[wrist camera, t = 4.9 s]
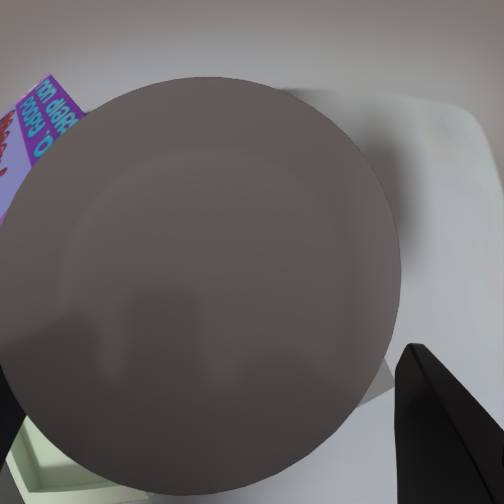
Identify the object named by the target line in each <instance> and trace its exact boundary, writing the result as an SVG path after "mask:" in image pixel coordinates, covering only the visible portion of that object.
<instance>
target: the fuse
mask: <svg viewBox="0 0 504 504" xmlns="http://www.w3.org/2000/svg"><path fill="white" fill-rule="evenodd" d="M400 286H401V260H400V249H399V239H398V234H397V230H396V226H395V222H394V218H393V214H392V210H391V207H390V205H389V202H388V200H387V197H386V195H385V192H384V190H383V188H382V185H381V183H380V181H379V179H378V177H377V176H376V174H375V172H374V171H373V169H372V167H371V166H370V164H369V162H368V161H367V159H366V158H365V156H364V155H363V154H362V153H361V151H360V150H359V149H358V148H357V146H356V145H355V144H354V143H353V141H352V140H351V139H350V138H349V137H348V136H347V135H346V134H345V133H344V132H343V131H342V130H341V129H340V128H339V127H338V126H337V125H335V124H334V123H333V122H332V121H331V120H330V119H329V118H327V117H326V116H324V115H323V114H322V113H320V112H319V111H317V110H316V109H315V108H313V107H312V106H310V105H309V104H307V103H305V102H303V101H301V100H299V99H297V98H295V97H293V96H291V95H289V94H287V93H285V92H282V91H280V90H277V89H274V88H271V87H269V86H266V85H262V84H258V83H254V82H250V81H245V80H239V79H231V78H223V77H194V78H183V79H175V80H170V81H165V82H161V83H156V84H152V85H149V86H146V87H142V88H139V89H136V90H133V91H131V92H129V93H126V94H124V95H122V96H119V97H117V98H115V99H113V100H111V101H109V102H107V103H105V104H104V105H102V106H100V107H98V108H97V109H95V110H93V111H92V112H90V113H89V114H87V115H86V116H84V117H83V118H82V119H80V120H79V121H77V122H76V123H75V124H73V125H72V126H71V127H70V128H69V129H68V130H66V131H65V132H64V133H63V134H62V135H61V136H60V137H58V138H57V139H56V140H55V141H54V142H53V144H52V145H51V146H50V147H49V148H48V149H47V150H46V151H45V152H44V153H43V154H42V155H41V157H40V158H39V159H38V161H37V162H36V163H35V164H34V166H33V167H32V168H31V170H30V171H29V172H28V174H27V175H26V177H25V179H24V180H23V182H22V183H21V185H20V187H19V188H18V190H17V192H16V194H15V196H14V198H13V200H12V202H11V204H10V206H9V208H8V210H7V212H6V215H5V217H4V220H3V223H2V226H1V228H0V364H1V367H2V370H3V373H4V375H5V377H6V379H7V381H8V384H9V386H10V388H11V390H12V392H13V394H14V396H15V398H16V399H17V401H18V402H19V404H20V405H21V407H22V409H23V410H24V412H25V413H26V415H27V416H28V418H29V419H30V420H31V421H32V422H33V424H34V425H35V426H36V427H37V428H38V429H39V431H40V432H41V433H42V434H43V435H44V436H45V437H46V438H47V439H48V440H49V441H50V442H51V443H52V444H53V445H54V446H55V447H57V448H58V449H59V450H60V451H61V452H62V453H64V454H65V455H66V456H67V457H69V458H70V459H72V460H73V461H75V462H76V463H78V464H79V465H81V466H82V467H84V468H85V469H87V470H89V471H90V472H92V473H94V474H96V475H99V476H101V477H103V478H105V479H107V480H110V481H112V482H114V483H117V484H119V485H123V486H126V487H130V488H133V489H137V490H141V491H145V492H150V493H158V494H167V495H178V496H181V495H203V494H213V493H218V492H223V491H228V490H232V489H237V488H241V487H245V486H248V485H250V484H253V483H255V482H258V481H261V480H263V479H266V478H268V477H270V476H273V475H275V474H277V473H279V472H281V471H283V470H284V469H286V468H288V467H289V466H291V465H293V464H294V463H296V462H298V461H299V460H301V459H302V458H304V457H306V456H307V455H309V454H310V453H311V452H312V451H313V450H315V449H316V448H317V447H318V446H319V445H321V444H322V443H323V442H324V441H325V440H326V439H328V438H329V437H330V436H331V435H332V434H333V433H334V432H335V431H336V430H337V429H338V428H339V427H340V426H341V425H342V423H343V422H344V421H345V420H346V419H347V418H348V416H349V415H350V414H351V413H352V412H353V410H354V409H355V408H356V407H357V405H358V404H359V403H360V401H361V400H362V398H363V397H364V395H365V393H366V392H367V390H368V388H369V387H370V385H371V383H372V382H373V380H374V378H375V376H376V375H377V373H378V371H379V369H380V366H381V364H382V361H383V359H384V356H385V354H386V351H387V349H388V346H389V344H390V341H391V338H392V334H393V330H394V326H395V321H396V317H397V312H398V307H399V300H400Z"/></svg>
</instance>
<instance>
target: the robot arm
mask: <svg viewBox="0 0 504 504" xmlns="http://www.w3.org/2000/svg"><path fill="white" fill-rule="evenodd" d="M26 416H27V415H26V413H25V412H24V410H23V409H22V407H21V405H20V404H19V402H18V401H17V399H16V398H15V396H14V394H13V392H12V390H11V388H10V386H9V384H8V381H7V379H6V377H5V375H4V373H3V370H2V367H1V364H0V472H1V469H2V467H3V464H4V462H5V460H6V458H7V455H8V453H9V451H10V449H11V447H12V444H13V442H14V440H15V438H16V436H17V434H18V432H19V430H20V428H21V426H22V424H23V422H24V420H25V418H26ZM394 431H395V446H396V465H397V504H504V431H503V429H502V428H501V427H500V426H499V425H498V424H497V423H496V421H495V420H494V419H493V418H492V417H491V416H490V415H489V414H488V412H487V411H486V410H485V409H484V408H483V407H482V406H481V405H480V404H479V402H478V401H477V400H476V399H475V398H474V397H473V396H472V395H471V394H470V393H469V392H468V390H467V389H466V388H465V387H464V386H463V385H462V384H461V383H460V382H459V381H458V380H457V379H456V378H455V377H454V375H453V374H452V373H451V372H450V371H449V370H448V369H447V368H446V367H445V366H444V365H443V364H442V363H441V362H440V361H439V360H438V359H437V358H436V357H435V356H434V355H433V354H432V353H431V351H430V350H429V349H428V348H427V347H426V346H425V345H423V344H417V343H409V344H407V345H406V347H405V349H404V351H403V353H402V355H401V357H400V360H399V362H398V364H397V366H396V369H395V411H394Z"/></svg>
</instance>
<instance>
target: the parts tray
mask: <svg viewBox="0 0 504 504" xmlns="http://www.w3.org/2000/svg"><path fill="white" fill-rule="evenodd" d="M6 461H7V464H8V466H9V469H10V471H11V474H12V476H13V478H14V481H15V483H16V485H17V487H18V489H19V492H20V494H21V496H22V498H23V500H24V502H25V504H113V503H122V502H130V501H137V500H144V499H149V498H150V497H151V496H152V495H153V494H154V493H150V492H145V491H141V490H137V489H133V488H130V487H126V486H123V485H119V484H117V483H114V482H112V481H110V480H107V479H105V478H103V477H101V476H99V475H96V474H94V473H92V472H90V471H89V470H87V469H85V468H84V467H82V466H81V465H79V464H78V463H76V462H75V461H73V460H72V459H70V458H69V457H67V456H66V455H65V454H64V453H62V452H61V451H60V450H59V449H58V448H57V447H55V446H54V445H53V444H52V443H51V442H50V441H49V440H48V439H47V438H46V437H45V436H44V435H43V434H42V433H41V432H40V431H39V429H38V428H37V427H36V426H35V425H34V424H33V422H32V421H31V420H30V419H29V418H28V416H26V418H25V420H24V422H23V424H22V426H21V428H20V430H19V432H18V434H17V436H16V438H15V440H14V442H13V444H12V447H11V449H10V451H9V453H8V455H7V458H6Z"/></svg>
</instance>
